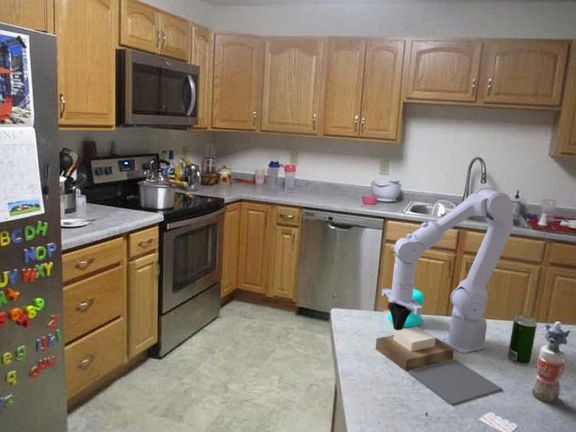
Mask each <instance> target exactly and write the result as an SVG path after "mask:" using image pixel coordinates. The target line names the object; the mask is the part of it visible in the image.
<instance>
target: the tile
mask: <svg viewBox="0 0 576 432" xmlns="http://www.w3.org/2000/svg"><path fill="white" fill-rule="evenodd" d="M393 335H394V337H393V340H395V341H396V342H398V343H399V344H401V345H402V346H404V347H405V348H407V349H408V350H410V351H415V350H420V349H424V348H429V347H433V346H435V339H436V338H437V337H435V336H434V335H433V334H431V333H429V332H427V331H425V330H424V329H421V328H420V327H419V326H416V327H411V328H408V327H406V328H404V329H402V330H394V331H393Z"/></svg>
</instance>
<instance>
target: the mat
mask: <svg viewBox="0 0 576 432" xmlns="http://www.w3.org/2000/svg"><path fill="white" fill-rule="evenodd" d="M408 374H409V375H410V376H411V377H413V378H414V379H416V380H417V381H418V382H419V383H420V384H422V385H424V386H425V387H426V388H427V389H429V390H430V391H432V393H434V394H436V396H439V398H441V399H443V401H445V402H447V403H448V404H449V405H450V406H454V405H455V406H456V405H458V404H461V403H465V402H467V401H468V402H469V401H471V400H474V399H477V398H481V397H484V396H487V395H491V394H493V393H496V392H497V393H498V392H500V391H502V390H503V388H502V387H500V386H499V385H498V384H496V383H494V382H493V381H491V380H489V379H488V378H486V377H485V376H484V375H483V376H482V375H481V374H479V373H478V372H477V371H475V370H473V369H471V367H469V366H467V365H466V364H464V363H462V362H461V361H459V360H457V359H452V360H448V361H444V362H440V363H436V364H432V365H428V366H424V367H420V368H416V369H412V370H408Z"/></svg>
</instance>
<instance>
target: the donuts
mask: <svg viewBox="0 0 576 432" xmlns="http://www.w3.org/2000/svg"><path fill="white" fill-rule="evenodd" d="M413 299H414V300H415V301H416V302H417V303H418V304H419V305H420V306H421V304H423V303H424V301H425V295H424V293H423V292H422V291H420V290H419V289H416V288H414V289H413ZM421 315H422V314H420V315H415V314H414V312H413V311H412V312H411V313H410V315H409V316H408V318H407V319H406V322H405V324H404V326H403V328H413V327H419V326H420V325H421V324H422V322H423V321H422V320H423V319H422V316H421ZM388 319H389V322H391V323H392V324H393V320H392V316H391V312H390V311H389V313H388Z"/></svg>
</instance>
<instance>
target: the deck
mask: <svg viewBox="0 0 576 432" xmlns="http://www.w3.org/2000/svg"><path fill="white" fill-rule="evenodd" d="M393 337H394V334H393V335H387V336H382V337H378V338H376V340H375V341H376V342H375V349H376V351H378V352H379V353H381V354H382V355H383V356H384V357H386V358H387V359H389V361H392V363H394V364H395V365H397V366H398V367H399V368H401V369H402V370H404V371H405V372H407V371H408V372H409V371H413V370H417V369H421V368H425V367H429V366H433V365H437V364H441V363H445V362H449V361H453V360H454V355H455V349H454V348H452V347H451V346H449V345H447V344H446V343H444V342H442V341H441V340H440V339H439V338H437V337H435V338H436V339H435V346H433V347H429V348H424V349H420V350H415V351H410V350H408V349H407V348H405V347H404V346H402V345H401V344H399V343H398V342H396V341H395V340H393Z"/></svg>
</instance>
